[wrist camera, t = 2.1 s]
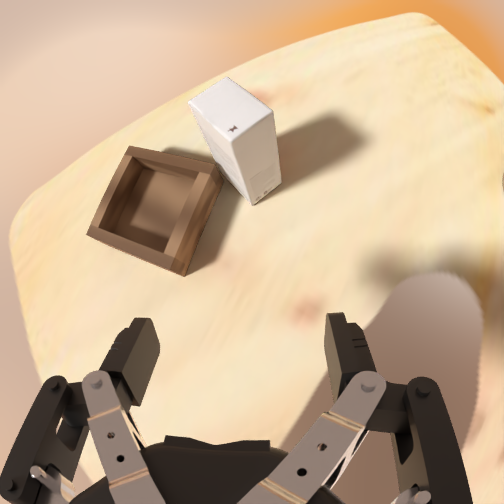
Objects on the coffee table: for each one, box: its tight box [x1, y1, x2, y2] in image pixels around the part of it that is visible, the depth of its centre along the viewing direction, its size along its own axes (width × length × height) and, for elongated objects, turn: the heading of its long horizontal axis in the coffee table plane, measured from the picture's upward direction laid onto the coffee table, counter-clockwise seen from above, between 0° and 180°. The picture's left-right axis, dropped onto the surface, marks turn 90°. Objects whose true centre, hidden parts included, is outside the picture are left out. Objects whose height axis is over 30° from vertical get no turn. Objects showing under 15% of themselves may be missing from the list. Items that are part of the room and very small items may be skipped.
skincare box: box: [188, 77, 282, 205], centre depth 27 cm, size 6×4×12 cm
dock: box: [86, 146, 223, 277], centre depth 32 cm, size 11×13×4 cm
